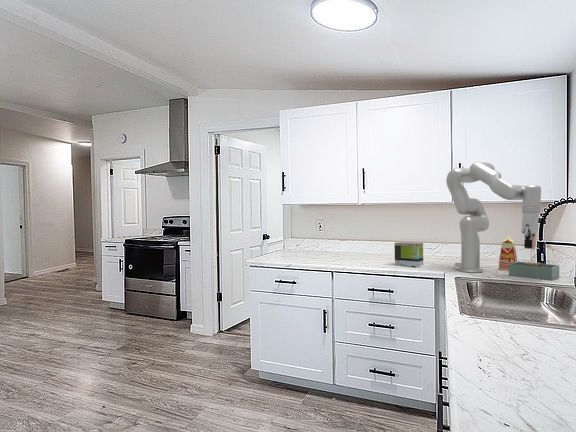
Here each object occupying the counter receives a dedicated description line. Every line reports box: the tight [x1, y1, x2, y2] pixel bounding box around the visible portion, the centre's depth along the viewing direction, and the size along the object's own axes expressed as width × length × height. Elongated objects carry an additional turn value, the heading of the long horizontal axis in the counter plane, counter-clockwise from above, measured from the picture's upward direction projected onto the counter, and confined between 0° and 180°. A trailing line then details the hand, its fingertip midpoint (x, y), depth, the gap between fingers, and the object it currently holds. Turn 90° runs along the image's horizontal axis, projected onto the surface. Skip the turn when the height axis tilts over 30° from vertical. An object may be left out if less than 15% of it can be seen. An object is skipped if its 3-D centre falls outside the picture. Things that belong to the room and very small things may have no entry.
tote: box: [508, 261, 560, 281], centre depth 204 cm, size 20×14×6 cm
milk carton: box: [497, 234, 518, 272], centre depth 223 cm, size 9×9×20 cm
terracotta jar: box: [525, 235, 537, 250], centre depth 191 cm, size 4×4×6 cm
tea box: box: [394, 241, 424, 268], centre depth 245 cm, size 15×10×15 cm
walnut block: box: [525, 261, 543, 267], centre depth 204 cm, size 6×6×6 cm
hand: (529, 247), depth 192 cm, fingers closed on terracotta jar, 4 cm apart
